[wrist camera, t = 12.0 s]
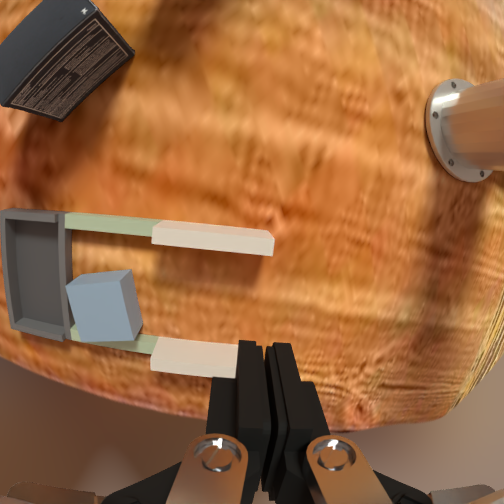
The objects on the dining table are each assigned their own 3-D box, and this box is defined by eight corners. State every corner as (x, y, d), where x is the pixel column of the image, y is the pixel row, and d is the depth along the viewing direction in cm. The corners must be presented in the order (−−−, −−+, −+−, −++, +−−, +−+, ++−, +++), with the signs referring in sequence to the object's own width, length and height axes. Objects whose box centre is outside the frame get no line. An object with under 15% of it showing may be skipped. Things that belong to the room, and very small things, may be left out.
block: (132, 268, 30) (119, 281, 27) (143, 322, 32) (134, 340, 28) (81, 273, 30) (65, 286, 26) (94, 325, 32) (81, 341, 28)
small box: (107, 20, 24) (69, -27, 14) (137, 54, 25) (102, 8, 15) (36, 87, 25) (-22, 65, 15) (61, 124, 26) (1, 109, 16)
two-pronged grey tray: (268, 230, 30) (274, 239, 26) (250, 356, 33) (253, 380, 29) (12, 208, 28) (-12, 213, 23) (21, 320, 31) (2, 336, 26)
